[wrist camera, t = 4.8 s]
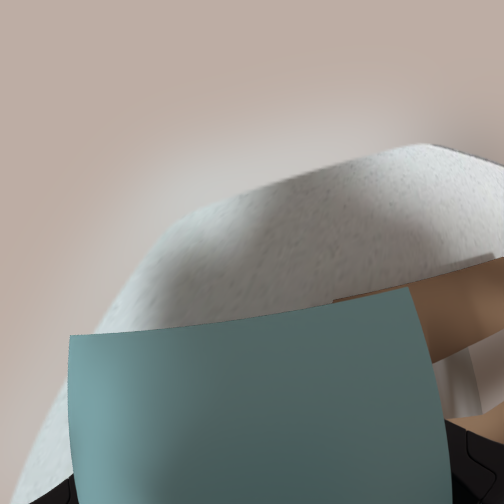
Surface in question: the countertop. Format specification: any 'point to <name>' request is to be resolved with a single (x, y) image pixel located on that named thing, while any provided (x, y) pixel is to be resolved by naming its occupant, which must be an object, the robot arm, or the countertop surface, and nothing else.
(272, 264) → the countertop surface
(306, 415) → the teal rectangular prism
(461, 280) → the post board
